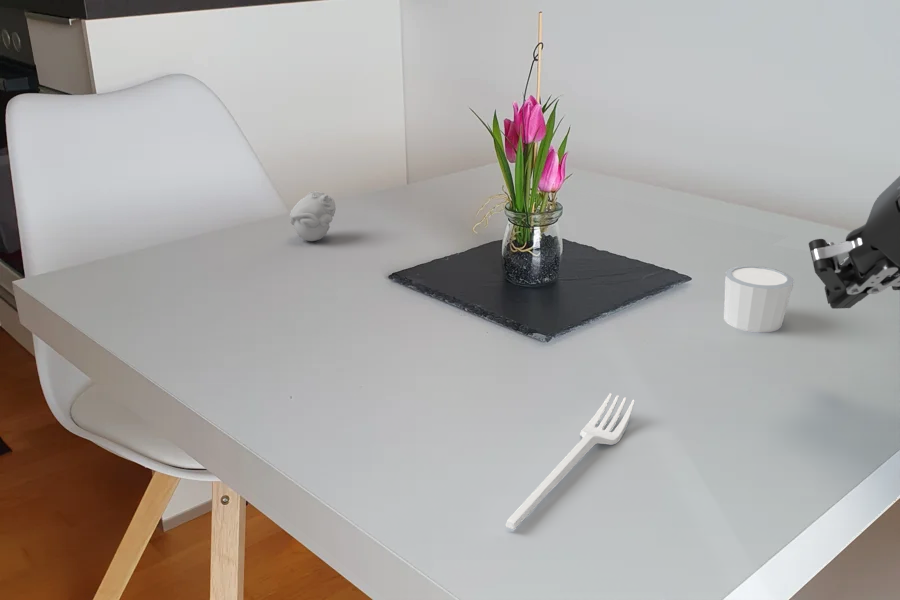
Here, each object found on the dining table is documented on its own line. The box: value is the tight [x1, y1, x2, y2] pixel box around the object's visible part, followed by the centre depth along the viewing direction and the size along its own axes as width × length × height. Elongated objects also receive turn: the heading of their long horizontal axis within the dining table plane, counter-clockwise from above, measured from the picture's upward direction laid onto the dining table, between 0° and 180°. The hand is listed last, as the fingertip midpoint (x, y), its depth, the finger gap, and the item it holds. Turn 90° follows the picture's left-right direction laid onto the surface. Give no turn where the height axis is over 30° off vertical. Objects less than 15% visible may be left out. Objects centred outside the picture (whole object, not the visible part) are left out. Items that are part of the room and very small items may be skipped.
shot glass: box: [723, 265, 795, 334], centre depth 89 cm, size 7×7×7 cm
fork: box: [505, 392, 635, 530], centre depth 67 cm, size 3×20×2 cm, turn 146°
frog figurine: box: [289, 190, 337, 242], centre depth 120 cm, size 6×7×7 cm
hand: (836, 298), depth 73 cm, fingers closed
